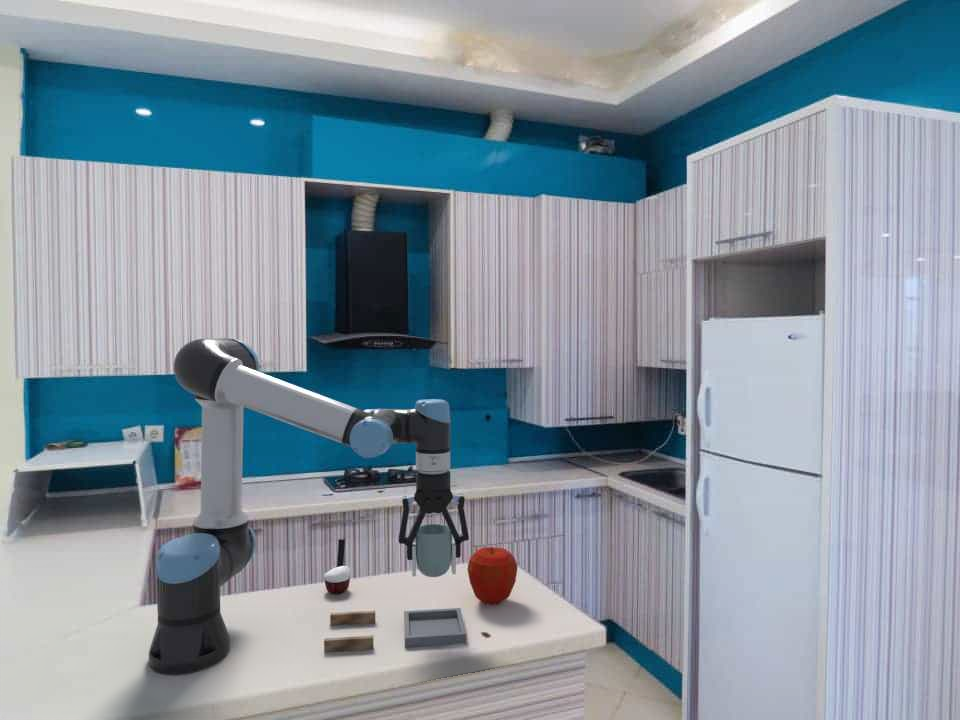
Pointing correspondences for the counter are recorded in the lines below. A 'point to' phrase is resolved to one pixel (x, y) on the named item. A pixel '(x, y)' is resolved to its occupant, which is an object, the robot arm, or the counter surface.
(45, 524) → the counter surface
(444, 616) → the dock cradle
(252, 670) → the counter surface
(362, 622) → the dock rails
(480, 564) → the apple
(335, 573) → the cocoa
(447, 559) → the cup
